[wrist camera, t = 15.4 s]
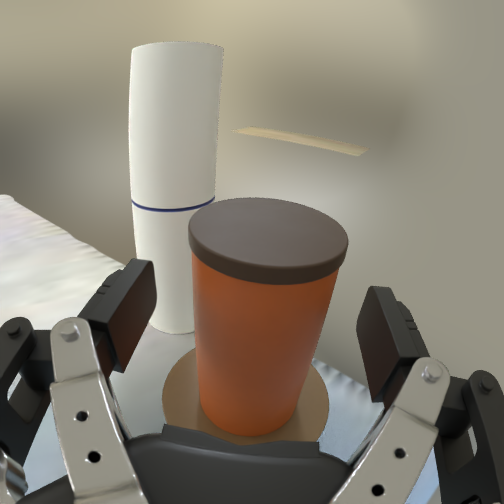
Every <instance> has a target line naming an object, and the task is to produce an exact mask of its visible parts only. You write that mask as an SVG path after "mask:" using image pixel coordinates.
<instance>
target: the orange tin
mask: <svg viewBox="0 0 504 504" xmlns="http://www.w3.org/2000/svg"><path fill="white" fill-rule="evenodd" d="M188 241H189V245H190V248H191V254H192V287H193V310H194V328H195V344H196V358H197V371H198V383H199V394H200V402H201V406H202V409H203V411H204V412H205V414H206V416H207V417H208V418H209V419H210V420H211V421H212V422H213V423H214V424H215V425H216V426H218V427H219V428H221V429H223V430H225V431H227V432H229V433H232V434H235V435H240V436H260V435H265V434H268V433H271V432H273V431H275V430H277V429H279V428H280V427H282V426H283V425H284V424H285V423H286V422H287V421H288V420H289V419H290V417H291V416H292V414H293V412H294V409H295V407H296V404H297V401H298V399H299V396H300V393H301V390H302V388H303V385H304V382H305V379H306V376H307V374H308V371H309V368H310V365H311V362H312V359H313V356H314V353H315V349H316V347H317V343H318V340H319V337H320V334H321V331H322V327H323V324H324V321H325V317H326V314H327V311H328V307H329V304H330V300H331V297H332V293H333V290H334V286H335V282H336V279H337V275H338V270H339V267H340V266H341V265H342V263H343V261H344V259H345V256H346V251H347V247H348V237H347V234H346V232H345V230H344V229H343V227H342V226H341V225H340V224H339V223H338V222H337V221H335V220H334V219H332V218H331V217H329V216H328V215H326V214H324V213H322V212H320V211H318V210H315V209H313V208H310V207H307V206H304V205H301V204H298V203H293V202H289V201H284V200H278V199H270V198H236V199H228V200H223V201H218V202H215V203H212V204H209V205H207V206H204V207H203V208H201V209H199V210H198V211H196V212H195V213H194V214H193V215H192V217H191V219H190V220H189V224H188Z"/></svg>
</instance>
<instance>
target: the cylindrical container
mask: <svg viewBox="0 0 504 504" xmlns="http://www.w3.org/2000/svg"><path fill="white" fill-rule="evenodd" d="M223 52H224V49H223V48H222V47H220V46H217V45H213V44H208V43H200V42H179V41H178V42H159V43H151V44H145V45H142V46H138V47H135V48H133V49H132V57H131V73H130V93H129V159H130V181H131V197H132V211H133V222H134V233H135V242H136V251H137V259H143V260H150V261H152V262H153V264H154V272H155V281H156V289H157V304H156V308H155V310H154V312H153V314H152V316H151V318H150V320H149V323H150V324H151V325H152V326H153V327H154V328H156V329H157V330H159V331H162V332H165V333H169V334H186V333H191V332H194V331H195V328H194V310H193V287H192V254H191V248H190V245H189V241H188V224H189V220H190V219H191V217H192V215H193V214H194V213H195V212H196V211H198V210H199V209H201V208H203V207H204V206H207V205H209V204H212V203H214V201H215V176H216V154H217V135H218V118H219V104H220V90H221V76H222V64H223Z"/></svg>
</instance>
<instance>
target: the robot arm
mask: <svg viewBox="0 0 504 504" xmlns="http://www.w3.org/2000/svg"><path fill="white" fill-rule="evenodd" d="M156 304H157V289H156V281H155V272H154V264H153V262H152V261H150V260H143V259H135V258H133V259H131V260H130V262H129V263H128V264H127V265H126V267H125V268H124V269H123V270H120V269H119V270H117V271H116V272H114V273H112V274H111V275H109V276H108V277H107V278H106V280H105V281H104V282H103V283H102V286H100V287H99V289H98V290H97V291H96V293H95V294H94V295H93V296H92V298H91V299H90V300H89V301H88V303H87V304H86V305H85V307H84V308H83V309H82V311H81V312H80V313H79V315H78V316H77V317H70V318H66V319H63V320H61V321H59V322H58V323H57V324H56V325H55V326H54V327H53V328H52V330H34V329H33V327H32V325H31V323H30V321H29V320H28V319H27V318H24V317H16V318H12V319H10V320H8V321H7V322H5V323H4V324H3V325H2V327H1V328H0V504H405V502H406V500H407V498H408V496H409V495H410V493H411V491H412V489H413V487H414V485H415V483H416V481H417V479H418V478H419V476H420V473H421V471H422V469H423V467H424V465H425V463H426V461H427V459H428V456H429V454H430V452H431V450H432V447H434V453H435V458H436V464H437V471H438V478H439V485H440V493H441V502H442V504H504V395H503V392H502V390H501V387H500V385H499V383H498V381H497V380H496V378H495V377H494V376H493V375H492V374H490V373H489V372H487V371H483V370H477V371H475V372H474V373H473V374H472V375H471V376H470V378H469V379H468V380H466V379H461V378H457V377H452V376H450V374H449V371H448V369H447V368H446V367H445V365H444V364H443V363H441V362H440V361H438V360H437V359H434V358H431V357H430V355H429V353H428V351H427V348H426V346H425V344H424V341H423V339H422V337H421V335H420V332H419V331H418V330H417V326H416V324H415V322H414V319H413V317H412V315H411V313H410V311H409V310H408V309H407V308H406V306H405V305H403V304H402V302H399V301H396V299H395V296H394V294H393V292H392V290H391V288H389V287H379V286H370V287H369V289H368V291H367V294H366V297H365V300H364V302H363V305H362V308H361V311H360V314H359V316H358V320H357V326H356V332H357V337H358V340H359V344H360V349H361V353H362V358H363V362H364V367H365V371H366V375H367V380H368V384H369V390H370V395H371V400H372V403H374V402H383V403H384V407H385V408H384V409H383V410H382V412H381V413H380V415H379V417H378V418H377V420H376V421H375V423H374V424H373V426H372V428H371V429H370V431H369V432H368V434H367V435H366V437H365V438H364V440H363V441H362V443H361V444H360V446H359V447H358V448H357V450H356V451H355V452H354V454H353V455H352V456H351V457H350V459H349V460H348V461H347V462H344V461H342V460H341V459H339V458H337V457H335V456H333V455H330V454H327V453H324V452H320V451H319V442H311V441H284V440H281V441H274V442H267V443H260V444H252V445H237V444H234V443H231V442H228V441H225V440H223V439H220V438H217V437H215V436H212V435H210V434H207V433H205V432H202V431H198V430H193V429H187V428H182V427H177V426H173V425H168V424H164V426H163V430H162V433H151V434H145V435H140V436H137V437H134V438H132V436H131V434H130V432H129V430H128V428H127V425H126V423H125V421H124V418H123V415H122V413H121V410H120V407H119V405H118V402H117V399H116V396H115V393H114V390H113V387H112V384H111V381H110V379H109V377H110V375H111V373H112V371H117V372H120V373H124V371H125V369H126V367H127V365H128V363H129V361H130V359H131V357H132V354H133V352H134V350H135V348H136V346H137V344H138V342H139V340H140V338H141V336H142V334H143V332H144V330H145V328H146V326H147V324H148V322H149V320H150V318H151V316H152V314H153V312H154V310H155V308H156ZM18 372H19V374H20V375H21V379H20V381H19V383H18V384H17V386H16V388H15V390H14V392H13V393H12V395H11V397H10V399H9V401H8V398H7V393H8V389H9V387H10V386H11V384H12V382H13V380H14V379H15V377H16V375H17V374H18ZM50 402H51V403H52V409H53V415H54V420H55V425H56V430H57V435H58V439H59V443H60V448H61V452H62V456H63V459H64V463H65V467H66V470H67V473H68V474H67V475H65V476H63V477H62V478H60V479H58V480H56V481H54V482H52V483H50V484H48V485H46V486H44V487H42V488H40V489H38V490H36V491H34V492H32V493H30V494H28V495H26V496H25V493H26V492H27V490H28V484H27V482H26V478H25V473H24V470H23V465H24V463H25V460H26V457H27V455H28V452H29V450H30V447H31V445H32V443H33V440H34V438H35V435H36V433H37V431H38V428H39V426H40V424H41V422H42V419H43V417H44V415H45V413H46V411H47V409H48V406H49V404H50ZM471 426H472V427H473V431H474V434H475V438H476V442H477V452H476V455H475V456H474V454H473V450H472V446H471V441H470V437H469V434H468V429H469V428H470V427H471Z"/></svg>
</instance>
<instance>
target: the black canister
mask: <svg viewBox="0 0 504 504" xmlns="http://www.w3.org/2000/svg"><path fill="white" fill-rule="evenodd" d="M162 407H163V412H164V416H165V420H166V422H167V424H168V425H173V426H177V427H182V428H187V429H193V430H198V431H202V432H205V433H207V434H210V435H212V436H215V437H217V438H220V439H223V440H225V441H228V442H231V443H234V444H237V445H252V444H260V443H267V442H274V441H281V440H284V441H311V442H316V441H317V440H318V438H319V437H320V435H321V433H322V431H323V430H324V428H325V425H326V422H327V419H328V413H329V398H328V392H327V389H326V386H325V384H324V382H323V380H322V378H321V376H320V374H319V373H318V372H317V370H316V369H315V368H314V367H313V366H312V364H311V365H310V368H309V371H308V374H307V376H306V379H305V382H304V385H303V388H302V390H301V393H300V396H299V399H298V401H297V404H296V407H295V409H294V412H293V414H292V416H291V417H290V419H289V420H288V421H287V422H286V423H285V424H284V425H283V426H282V427H280V428H279V429H277V430H275V431H273V432H271V433H268V434H265V435H260V436H240V435H235V434H232V433H229V432H227V431H225V430H223V429H221V428H219V427H218V426H216V425H215V424H214V423H213V422H212V421H211V420H210V419H209V418H208V417H207V416H206V414H205V412H204V411H203V409H202V406H201V402H200V394H199V383H198V371H197V358H196V348H194V349H192V350H191V351H190V352H188V353H187V354H185V355H184V356H183V357H182V358H181V359H180V360H178V362H177V363H176V364H175V365H174V366H173V368H172V369H171V371H170V372H169V374H168V376H167V378H166V381H165V384H164V387H163V393H162Z"/></svg>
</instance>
